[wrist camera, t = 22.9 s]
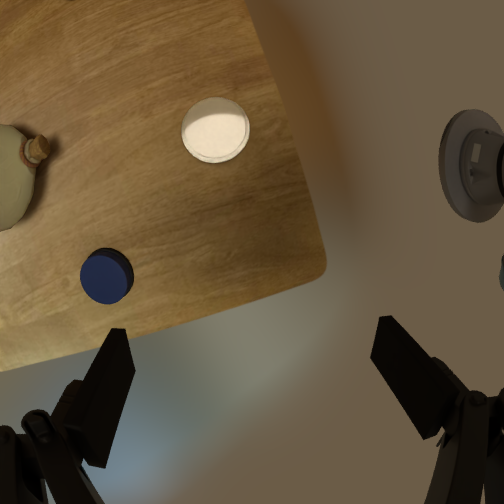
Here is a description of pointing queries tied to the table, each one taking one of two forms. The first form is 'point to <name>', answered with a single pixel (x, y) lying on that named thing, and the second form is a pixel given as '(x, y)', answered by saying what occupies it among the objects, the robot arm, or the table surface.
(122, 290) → the jar lid
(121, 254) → the coaster
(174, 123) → the table surface
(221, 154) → the jar
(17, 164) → the flask
